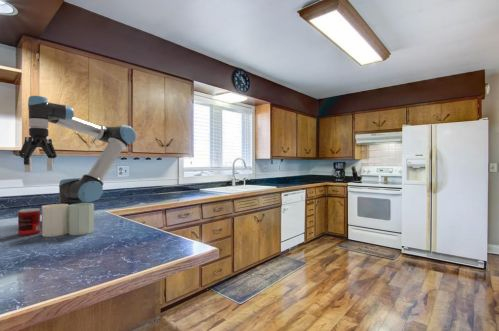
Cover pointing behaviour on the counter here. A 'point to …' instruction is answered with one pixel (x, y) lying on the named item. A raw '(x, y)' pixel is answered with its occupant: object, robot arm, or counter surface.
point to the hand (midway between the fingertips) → (39, 171)
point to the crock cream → (54, 220)
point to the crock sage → (80, 218)
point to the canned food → (28, 221)
